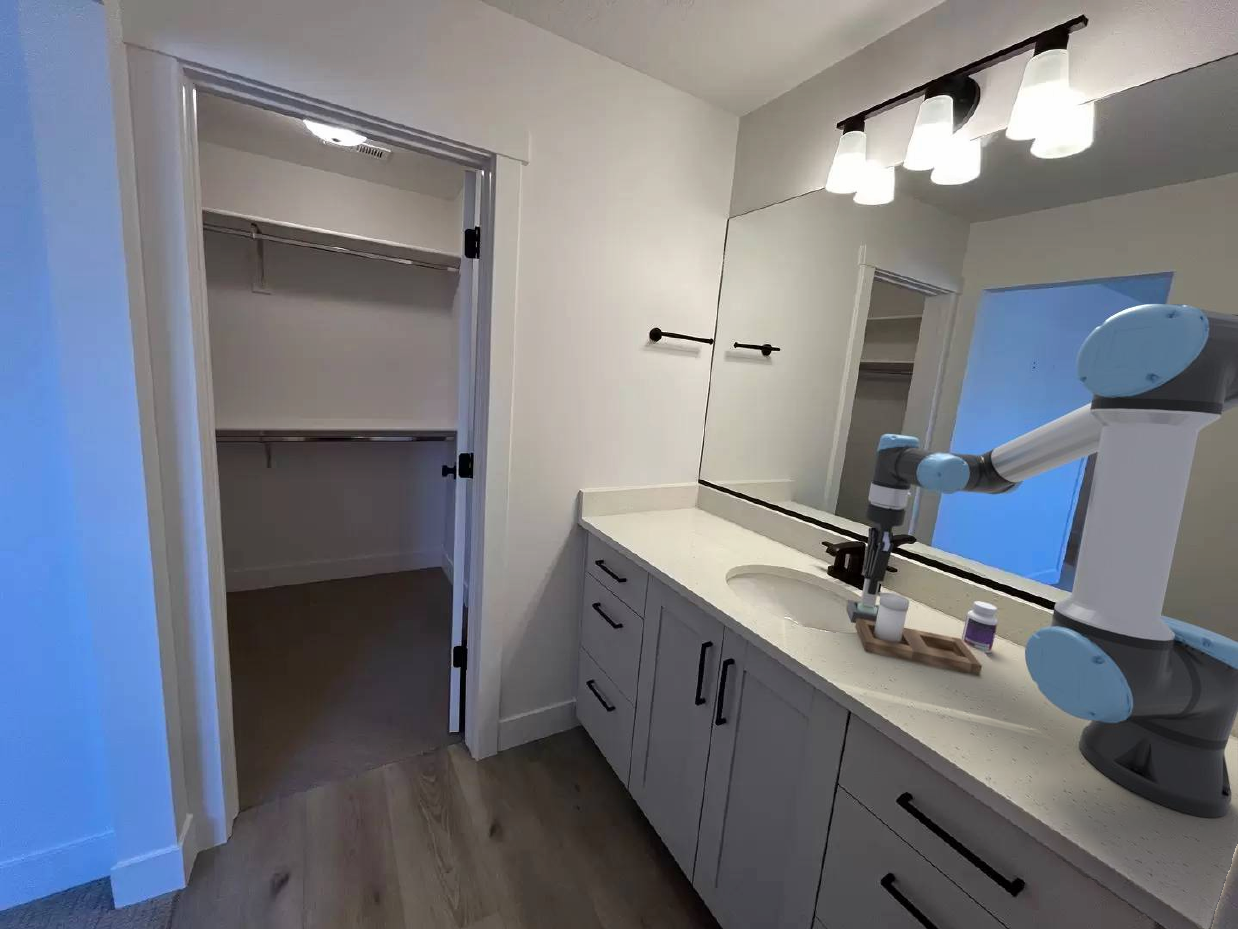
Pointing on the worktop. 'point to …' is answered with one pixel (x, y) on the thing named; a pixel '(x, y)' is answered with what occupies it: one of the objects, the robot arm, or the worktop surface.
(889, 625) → the bottle
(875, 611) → the button
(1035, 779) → the worktop surface
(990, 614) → the pill bottle
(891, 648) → the walnut caddy
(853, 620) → the switch box
